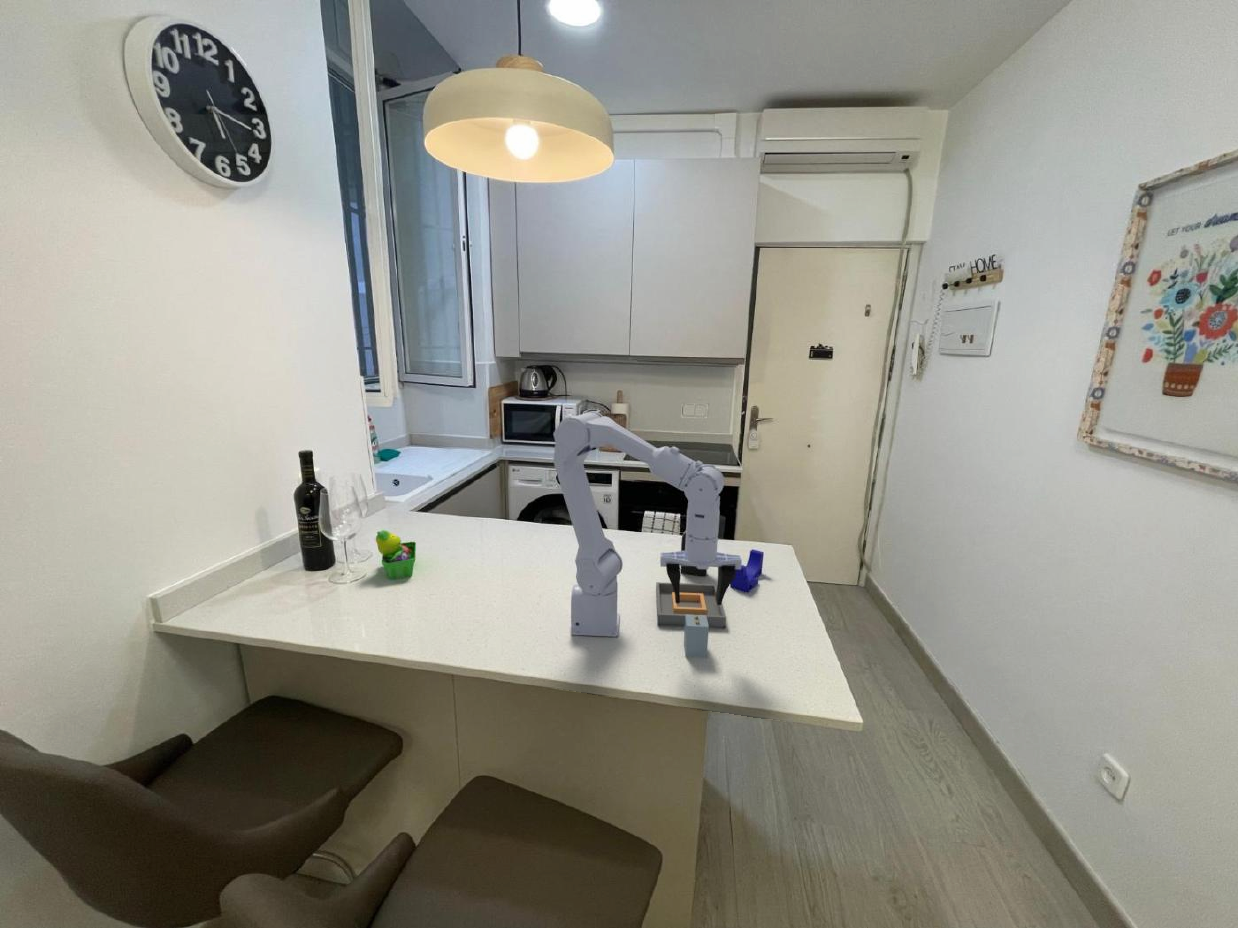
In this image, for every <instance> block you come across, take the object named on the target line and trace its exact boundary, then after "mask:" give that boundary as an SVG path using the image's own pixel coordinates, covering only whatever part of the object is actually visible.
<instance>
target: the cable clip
mask: <svg viewBox="0 0 1238 928" xmlns="http://www.w3.org/2000/svg"><path fill="white" fill-rule="evenodd" d="M764 553H765V552H763V551H760V550H757V549H754V548H752V549H751V550H749V556H748V561H747V564H746V565H744V564H741V569H735V572H736V575H735V578H734V580H733V581H732V582H731V584H730V585H729V586H730V587H729V588H732V589H734V590H737V591H741V592H744V593H747V594H749V592H751V591H752V590H753V589H754V588H755V587H756V586H757V585H758V584H759V578H758V577H759V576H760V575H762V573H763V563H764V556H765V555H764Z"/></svg>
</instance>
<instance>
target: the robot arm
mask: <svg viewBox="0 0 1238 928" xmlns="http://www.w3.org/2000/svg"><path fill="white" fill-rule="evenodd" d="M553 438H554V441H555V444H554V454H553V465H554V469H555V471H556V474H557V478H558V481H559V485H560V488H561V491H562V495H563V497H564V501H565V505H566V508H567V511H568V514H569V517H570V521H571V524H572V528H573V531H574V534H575V537H576V540H577V544H578V548H577V552H576V556H575V559H574V563H575V565H576V566H575V567H576V574H575V580H576V583H575V584H573V585H572V590H571V596H570V598H571V600H570V627H571V628H570V634H571V635H572V636H592V637H593V636H595V637H618V636H619V630H620V629H619V626H620V619H621V618H620V617H621V616H620V615H621V614H620V613H618V591H619V589H618V575H619V574H620V573H621V571H622V569H623V559H622V556H621V555H620V554H619V552H618V551H617V550H616V548H615V546H614V543H613V541H612V540H610V539H609V538H607V537H605V533H604V530H603V526H602V523H601V520H600V516H599V513H598V509H597V506H596V503H595V499H594V497H593V493H592V489H591V487H590V486H591V485H590V483H589V478H588V476H587V471H586V469H585V465H584V462H585V461H586V458H587V457H588V456H589V454H590V452H591V450H593V449H594V448H600V447H601V448H602V447H611V448H613V449H616V450H618V451H620V452H622V453H624V454H626V455H628V456H630V457H632V458H634V459H636V460H639V461H640V462H642V463H645V464H646V465H647V466H648V469H649V470H650V471H649V472H650V473H651V474H652V475H653V476H654V477H656V478H659V479H660V480H662V481H663V482H665V483H667V484H668V485H671V486H673V487H675V488H676V489H678V490H680V491H682V492H684V495H685V497H686V498H687V501H688V503H687V509H686V528H685V531H686V544H685V551H681V550H679V551H672V552H669V551H668V552H660V560H659V561H660V562H659V563H660V564H659V565H660V567H661V568H664V567H665V568H666V575H667V576H668V579H669V580H670V583H672V586H673V589H674V593H675V602H676V603H680V592H679V588H680V583H681V575H682V573H681V571H680V570H681V566H695V567H697V568H698V569H707V570H709V568H710V567H711V568H717V584H716V585H717V592H716V601H717V605H721V604H722V605H723V600H724V597H725V594H726V592H727V590H728V588H730V587H729V586H730V584H731V582H732V581H733V580H734V578H735V575H736V572H735V569H741V565H742V563H743V562H742V557H741V556H740V554H739V555H738V554H729V553H724V552H718V541H719V528H720V515H721V514H720V513H721V512H720V506H721V501H720V500H721V496H720V495H719V494H721V492H722V491H723V488H724V487H725V486H724V485H725V477H724V475H723V472H721V471H720V470H719V469H718V468H717V467H716V466H715V465H713V464H704V463H703V462H702V461H701V460H697V461H696V460H694V459H692V458H690V457H688V456H686V455H684V454H683V453H680V448H678V447H676V446H673V445H672V447H669V446H667V445H666V446H661V447H656V446H654V445H653V444H651V443H649V442H647V441H646V440H644V439H642V438H641V437H640V436H639V435H636V434H635V433H633V432H631V431H630V430H628V429H626V428H624V427H623V426H621V425H620V424H619V423H617V422H615V421H614V420H613V419H612V418H611V417H609V416H606V415H604V416H603V415H602V414H601V413H600V412H597V411H594V410H593V411H592V410H591V411H589V410H588V411H587V412H584V413H582V414H578V415H575V416H569V417H565V418H564V419H562V420H561V421H560V423H558V425H557V427H556V429H555V430H554V431H553Z"/></svg>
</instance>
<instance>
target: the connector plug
mask: <svg viewBox="0 0 1238 928" xmlns="http://www.w3.org/2000/svg"><path fill="white" fill-rule="evenodd" d="M709 631H710V630H709V626H708V621H707V617H706V615H691V614H685V626H684V632H683V633H684V634H683V649H684V655H685V657H688V658H707V657H708V643H709Z"/></svg>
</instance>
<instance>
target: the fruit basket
mask: <svg viewBox="0 0 1238 928" xmlns="http://www.w3.org/2000/svg"><path fill="white" fill-rule="evenodd" d="M376 534H377V535H376V536H375V542H376V544H377V549H378V552H379V553H380V554H381V555H382V558H381V564H382V566H383V568H384V569H385V572H386V575H387V577H388V579H389V580H393V579H401V578H406V577H412V576H413V571H414V565H415V562H416V558H417V557H416V556H417V555H416V551H417V542H415V541H407V542H402V539H401V538H400V536H398V535H396V534H394V533H392V532H390V531H387V530H385V529H383V530H381V531H379V530H378V531H377V532H376Z"/></svg>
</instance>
